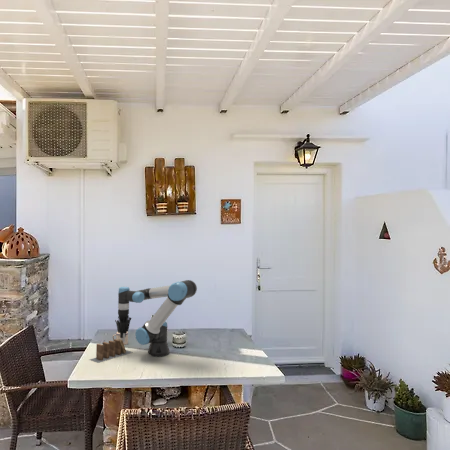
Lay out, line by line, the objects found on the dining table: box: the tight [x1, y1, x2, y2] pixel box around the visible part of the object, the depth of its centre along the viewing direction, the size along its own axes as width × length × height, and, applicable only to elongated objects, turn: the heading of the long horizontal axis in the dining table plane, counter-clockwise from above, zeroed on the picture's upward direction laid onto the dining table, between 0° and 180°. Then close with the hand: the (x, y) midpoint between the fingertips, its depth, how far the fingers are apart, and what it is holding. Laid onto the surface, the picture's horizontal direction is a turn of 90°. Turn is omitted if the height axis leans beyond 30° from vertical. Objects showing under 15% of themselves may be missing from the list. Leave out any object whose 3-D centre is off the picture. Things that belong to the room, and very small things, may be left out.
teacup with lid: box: [112, 331, 129, 346], centre depth 321 cm, size 12×9×12 cm
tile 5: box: [95, 343, 103, 360], centre depth 283 cm, size 2×5×10 cm, turn 54°
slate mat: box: [89, 349, 134, 364], centre depth 291 cm, size 10×30×1 cm, turn 144°
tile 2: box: [112, 338, 121, 355], centre depth 295 cm, size 2×5×10 cm, turn 54°
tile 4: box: [102, 341, 110, 359], centre depth 287 cm, size 2×5×10 cm, turn 54°
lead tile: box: [117, 339, 127, 353], centre depth 298 cm, size 2×5×10 cm, turn 53°
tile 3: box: [108, 340, 115, 357], centre depth 291 cm, size 2×5×10 cm, turn 54°
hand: (122, 342), depth 299 cm, fingers closed
